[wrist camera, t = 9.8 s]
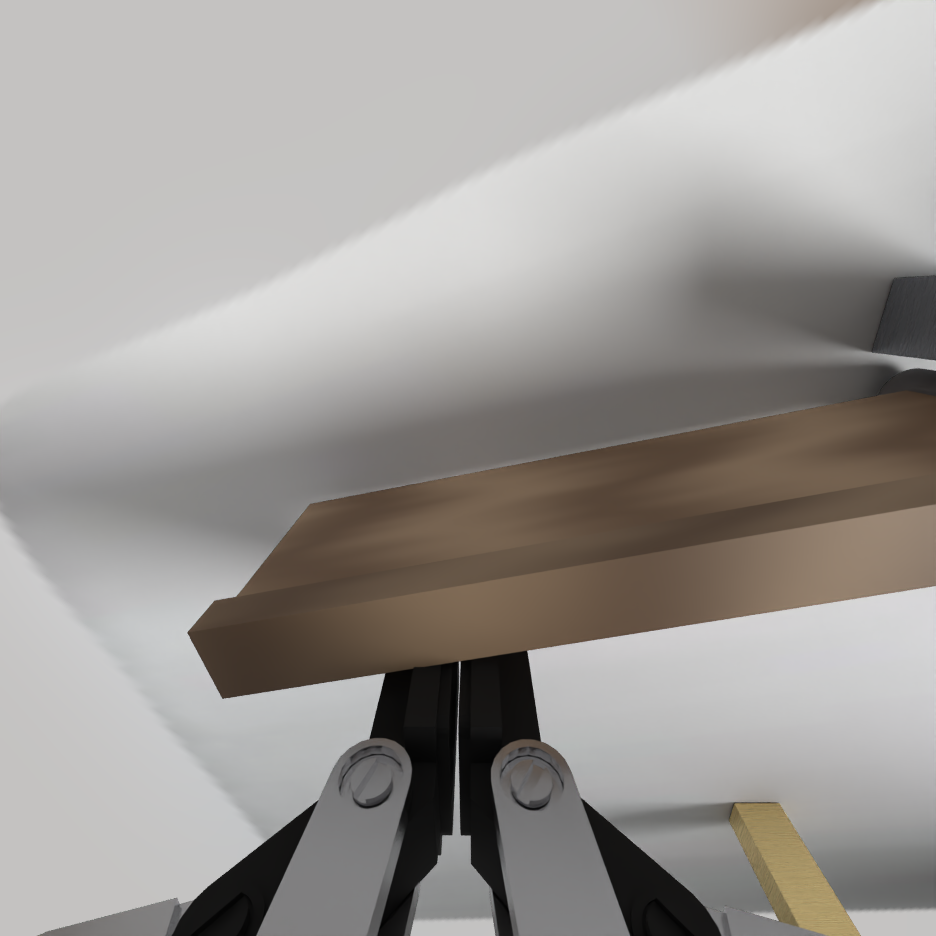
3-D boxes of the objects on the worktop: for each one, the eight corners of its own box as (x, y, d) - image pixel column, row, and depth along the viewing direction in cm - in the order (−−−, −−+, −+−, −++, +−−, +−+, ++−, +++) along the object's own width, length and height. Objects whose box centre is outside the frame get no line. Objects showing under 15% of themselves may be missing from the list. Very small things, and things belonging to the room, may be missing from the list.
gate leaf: (944, 362, 12) (1408, 421, 6) (934, 422, 13) (1347, 530, 7) (309, 485, 14) (181, 632, 8) (327, 535, 15) (221, 707, 8)
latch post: (778, 803, 20) (931, 1051, 13) (772, 820, 20) (917, 1069, 14) (734, 803, 20) (865, 1051, 13) (729, 820, 20) (853, 1069, 14)
